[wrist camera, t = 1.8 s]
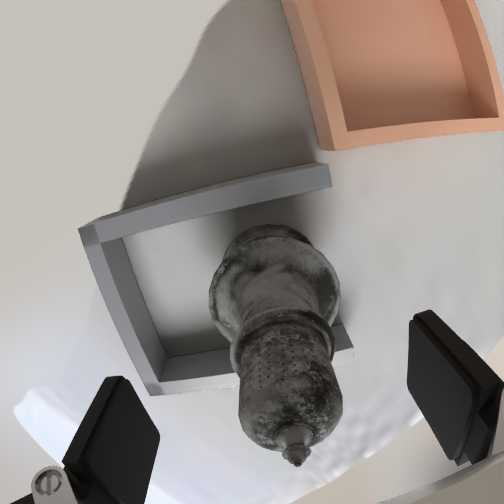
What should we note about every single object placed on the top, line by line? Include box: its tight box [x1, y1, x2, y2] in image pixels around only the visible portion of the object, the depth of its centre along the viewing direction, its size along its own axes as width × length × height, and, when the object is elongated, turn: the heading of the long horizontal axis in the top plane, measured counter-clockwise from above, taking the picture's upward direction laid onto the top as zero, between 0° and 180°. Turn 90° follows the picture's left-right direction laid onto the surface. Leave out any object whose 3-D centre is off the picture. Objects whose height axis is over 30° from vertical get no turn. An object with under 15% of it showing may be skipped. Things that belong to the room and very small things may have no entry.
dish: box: [280, 0, 504, 151], centre depth 12 cm, size 10×10×3 cm
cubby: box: [78, 162, 355, 396], centre depth 16 cm, size 12×10×2 cm
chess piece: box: [209, 224, 343, 467], centre depth 12 cm, size 6×6×12 cm
